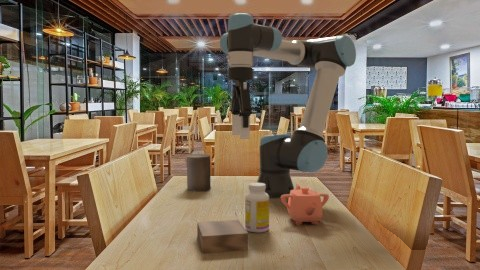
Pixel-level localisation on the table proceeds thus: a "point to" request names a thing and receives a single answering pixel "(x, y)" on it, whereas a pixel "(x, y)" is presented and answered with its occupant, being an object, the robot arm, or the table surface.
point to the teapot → (304, 205)
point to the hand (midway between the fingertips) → (240, 137)
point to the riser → (222, 236)
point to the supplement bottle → (257, 208)
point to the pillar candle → (198, 172)
